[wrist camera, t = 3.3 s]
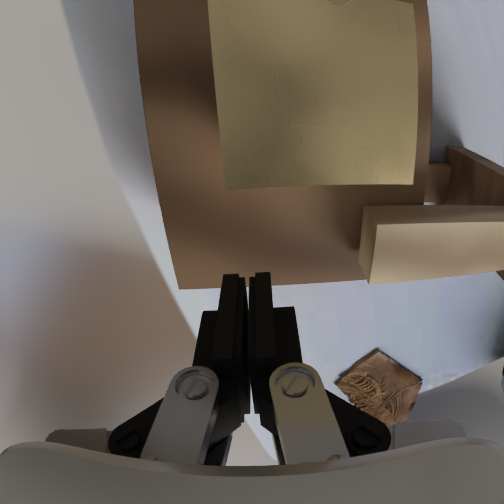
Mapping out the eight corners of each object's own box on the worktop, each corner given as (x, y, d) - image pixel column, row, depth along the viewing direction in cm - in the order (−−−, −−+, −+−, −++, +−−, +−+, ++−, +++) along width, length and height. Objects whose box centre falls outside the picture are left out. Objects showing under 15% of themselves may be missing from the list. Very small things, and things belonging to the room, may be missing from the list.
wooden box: (173, -33, 14) (102, -108, 4) (460, -13, 13) (564, -32, 3) (201, 224, 24) (164, 335, 14) (455, 213, 23) (537, 296, 13)
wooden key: (363, 206, 14) (377, 224, 12) (546, 207, 13) (564, 221, 11) (358, 260, 15) (369, 284, 14) (535, 247, 15) (551, 263, 13)
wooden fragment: (326, 364, 33) (327, 371, 32) (418, 329, 30) (421, 336, 29) (362, 441, 45) (363, 446, 44) (421, 419, 42) (422, 424, 41)
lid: (143, -67, 8) (75, -131, 2) (397, -70, 8) (470, -124, 1) (184, 271, 18) (152, 376, 12) (399, 259, 18) (454, 352, 11)
